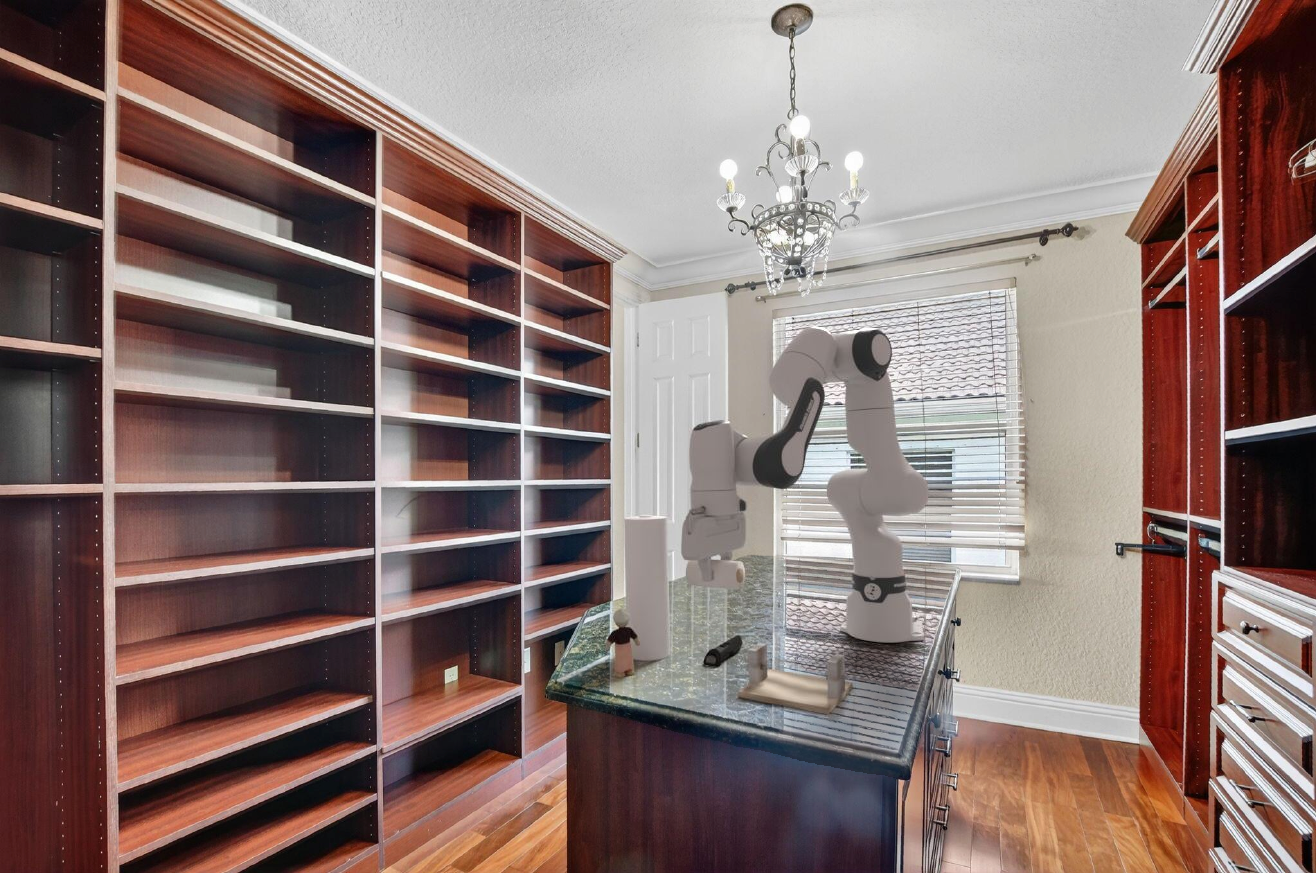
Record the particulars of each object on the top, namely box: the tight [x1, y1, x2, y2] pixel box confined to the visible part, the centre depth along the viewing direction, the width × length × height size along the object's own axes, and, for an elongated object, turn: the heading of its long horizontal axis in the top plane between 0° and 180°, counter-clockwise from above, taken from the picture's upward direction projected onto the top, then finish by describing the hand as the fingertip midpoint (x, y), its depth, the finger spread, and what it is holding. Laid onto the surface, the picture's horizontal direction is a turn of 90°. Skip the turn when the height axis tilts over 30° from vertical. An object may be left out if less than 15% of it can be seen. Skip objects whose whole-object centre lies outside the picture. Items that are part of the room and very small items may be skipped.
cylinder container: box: [623, 514, 671, 662], centre depth 138 cm, size 9×9×30 cm
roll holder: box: [737, 642, 854, 715], centre depth 113 cm, size 14×16×7 cm
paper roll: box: [685, 558, 746, 591], centre depth 121 cm, size 11×5×5 cm
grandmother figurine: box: [604, 608, 640, 678], centre depth 125 cm, size 8×4×13 cm, turn 135°
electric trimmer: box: [703, 634, 743, 667], centre depth 135 cm, size 4×16×3 cm, turn 151°
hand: (716, 577), depth 121 cm, fingers closed on paper roll, 5 cm apart
